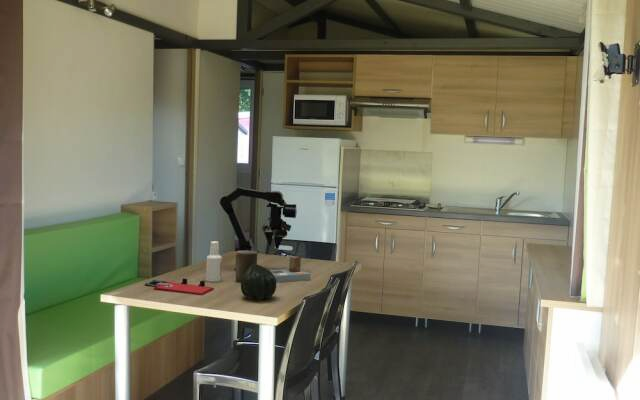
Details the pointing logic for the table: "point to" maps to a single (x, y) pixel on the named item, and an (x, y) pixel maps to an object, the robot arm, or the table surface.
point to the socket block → (290, 275)
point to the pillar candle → (244, 262)
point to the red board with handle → (181, 287)
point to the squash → (258, 283)
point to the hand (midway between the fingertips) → (273, 247)
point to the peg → (295, 264)
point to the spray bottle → (214, 263)
